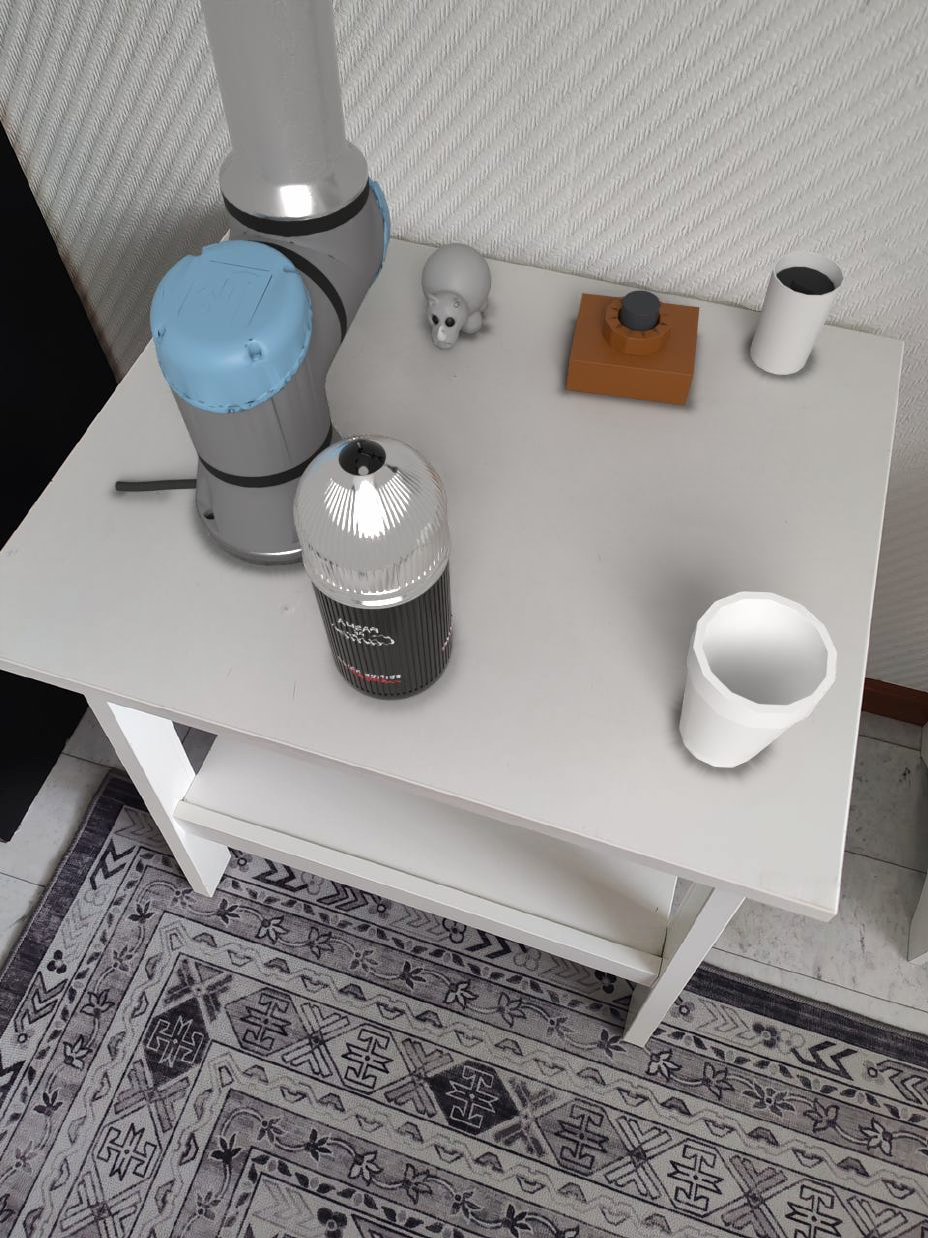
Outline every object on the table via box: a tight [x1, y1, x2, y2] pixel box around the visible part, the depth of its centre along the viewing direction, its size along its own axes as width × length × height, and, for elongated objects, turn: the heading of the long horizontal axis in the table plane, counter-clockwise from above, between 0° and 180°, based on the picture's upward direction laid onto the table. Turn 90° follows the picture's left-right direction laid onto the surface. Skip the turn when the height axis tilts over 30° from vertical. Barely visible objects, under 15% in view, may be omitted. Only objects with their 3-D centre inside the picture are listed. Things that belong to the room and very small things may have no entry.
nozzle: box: [620, 289, 661, 332], centre depth 86 cm, size 4×4×2 cm
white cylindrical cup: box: [749, 250, 846, 376], centre depth 88 cm, size 7×7×10 cm
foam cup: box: [678, 590, 838, 769], centre depth 64 cm, size 10×9×13 cm
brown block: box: [565, 292, 700, 406], centre depth 89 cm, size 12×10×6 cm
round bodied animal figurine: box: [420, 242, 492, 351], centre depth 91 cm, size 7×12×8 cm, turn 167°
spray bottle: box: [293, 434, 454, 702], centre depth 63 cm, size 10×10×25 cm
